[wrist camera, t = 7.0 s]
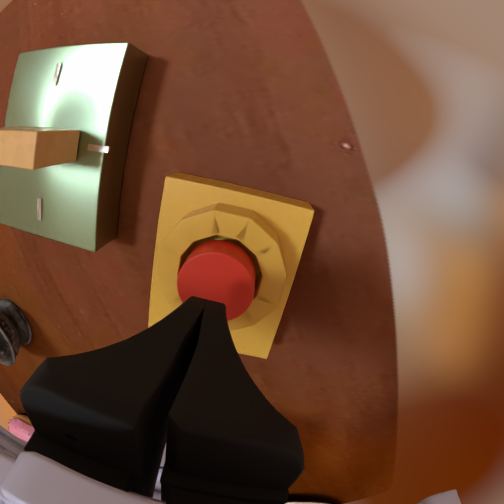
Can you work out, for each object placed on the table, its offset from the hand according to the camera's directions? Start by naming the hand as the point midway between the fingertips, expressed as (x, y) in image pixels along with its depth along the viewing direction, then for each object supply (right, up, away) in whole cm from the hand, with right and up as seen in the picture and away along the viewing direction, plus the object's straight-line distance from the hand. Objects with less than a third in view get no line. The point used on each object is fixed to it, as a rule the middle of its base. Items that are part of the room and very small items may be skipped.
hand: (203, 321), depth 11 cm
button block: (0, +2, +8) cm, 8 cm away
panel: (-10, +10, +5) cm, 15 cm away
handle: (-10, +9, +2) cm, 14 cm away
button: (0, +2, +4) cm, 4 cm away
